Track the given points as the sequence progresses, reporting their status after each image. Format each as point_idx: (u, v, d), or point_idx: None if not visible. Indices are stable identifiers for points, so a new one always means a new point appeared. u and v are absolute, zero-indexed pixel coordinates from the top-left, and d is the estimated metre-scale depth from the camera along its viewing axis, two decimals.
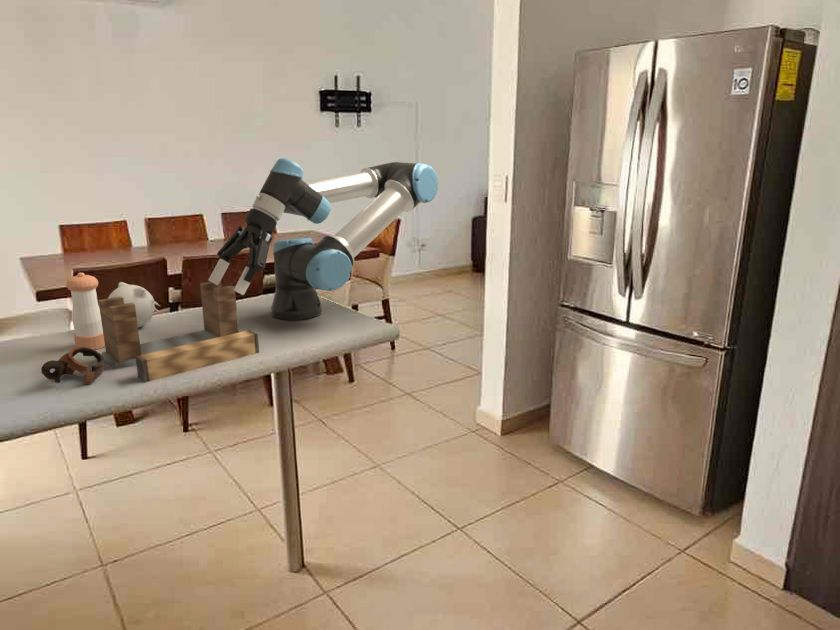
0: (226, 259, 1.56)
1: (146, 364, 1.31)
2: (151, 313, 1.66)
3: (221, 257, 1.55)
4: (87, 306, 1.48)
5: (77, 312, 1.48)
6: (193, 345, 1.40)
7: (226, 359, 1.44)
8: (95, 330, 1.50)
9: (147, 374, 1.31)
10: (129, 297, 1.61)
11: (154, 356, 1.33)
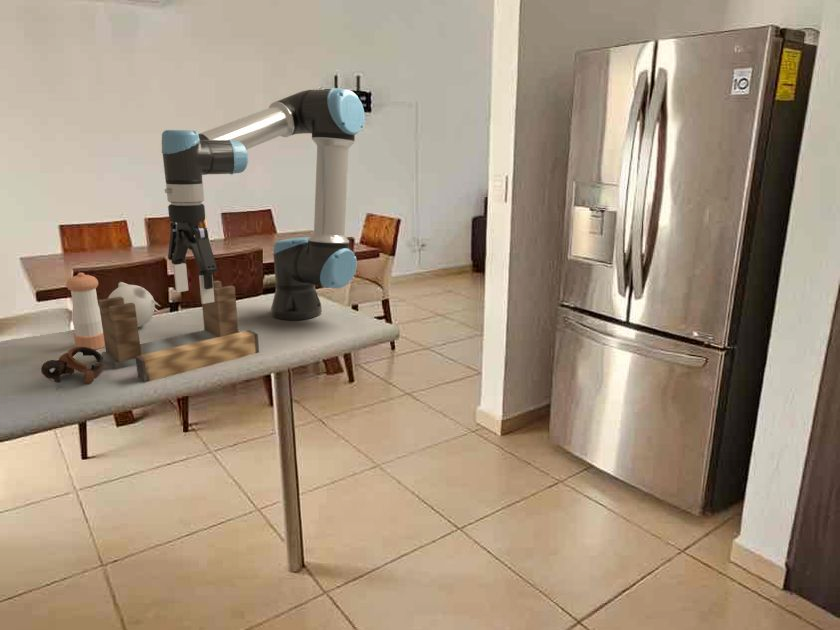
0: (180, 261, 1.40)
1: (146, 364, 1.31)
2: (151, 313, 1.66)
3: (174, 262, 1.39)
4: (87, 306, 1.48)
5: (77, 312, 1.48)
6: (193, 345, 1.40)
7: (226, 359, 1.44)
8: (95, 330, 1.50)
9: (147, 374, 1.31)
10: (129, 297, 1.61)
11: (154, 356, 1.33)
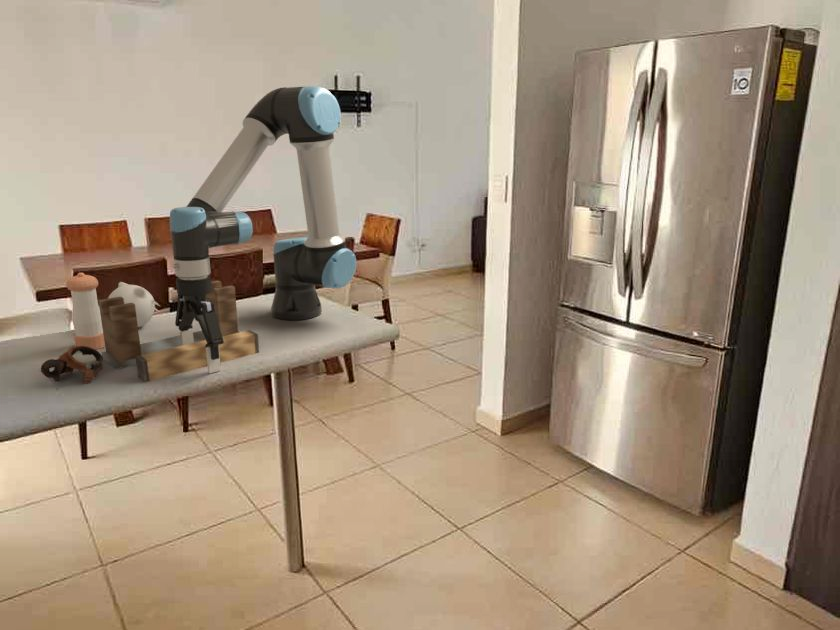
0: (187, 327, 1.45)
1: (146, 364, 1.31)
2: (151, 313, 1.66)
3: (181, 329, 1.44)
4: (87, 306, 1.48)
5: (77, 312, 1.48)
6: (193, 345, 1.40)
7: (226, 359, 1.44)
8: (95, 330, 1.50)
9: (147, 374, 1.31)
10: (129, 297, 1.61)
11: (154, 356, 1.33)
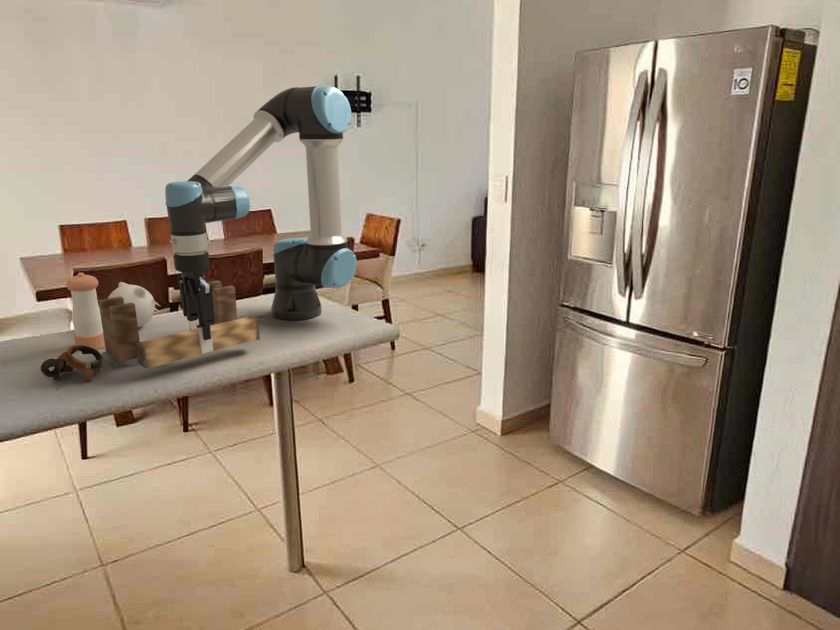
0: (195, 316, 1.41)
1: (146, 350, 1.30)
2: (151, 313, 1.66)
3: (189, 318, 1.40)
4: (87, 306, 1.48)
5: (77, 312, 1.48)
6: (193, 332, 1.39)
7: (226, 346, 1.43)
8: (95, 330, 1.50)
9: (147, 360, 1.31)
10: (129, 297, 1.61)
11: (154, 342, 1.32)
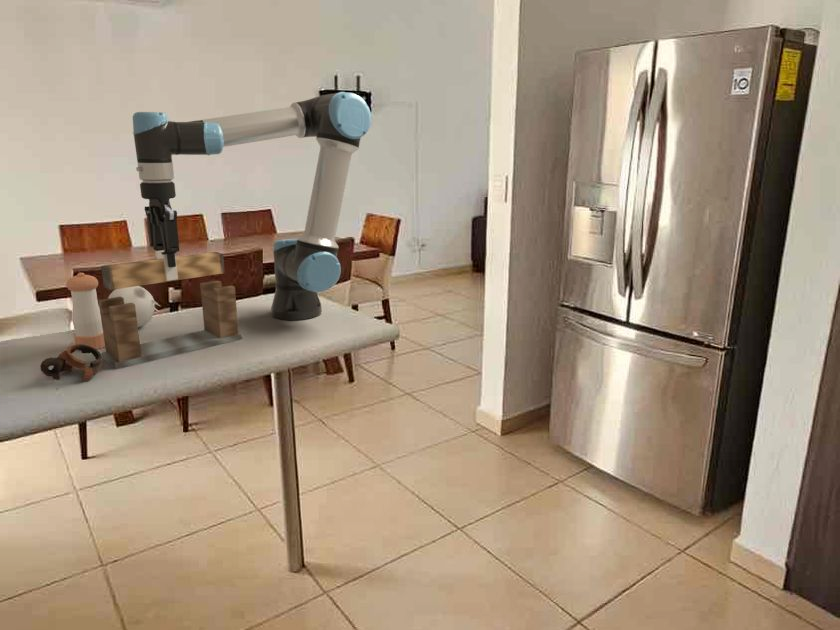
0: (161, 246, 1.47)
1: (111, 272, 1.35)
2: (151, 313, 1.66)
3: (155, 248, 1.46)
4: (87, 306, 1.48)
5: (77, 312, 1.48)
6: (159, 260, 1.45)
7: (191, 276, 1.49)
8: (95, 330, 1.50)
9: (111, 282, 1.36)
10: (129, 297, 1.61)
11: (119, 265, 1.38)
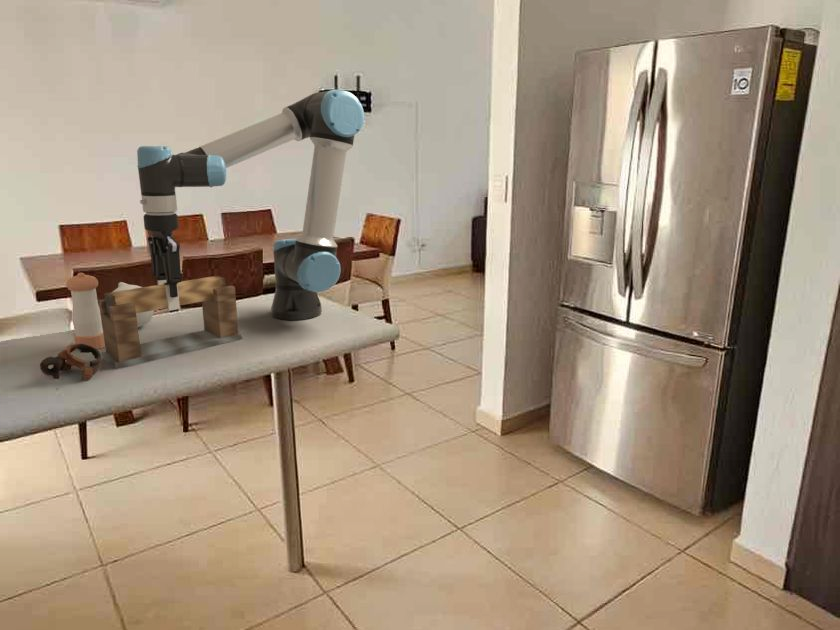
0: (164, 276, 1.49)
1: (114, 300, 1.37)
2: (151, 313, 1.66)
3: (158, 278, 1.48)
4: (87, 306, 1.48)
5: (77, 312, 1.48)
6: (161, 286, 1.46)
7: (193, 301, 1.51)
8: (95, 330, 1.50)
9: None
10: None
11: (123, 293, 1.40)
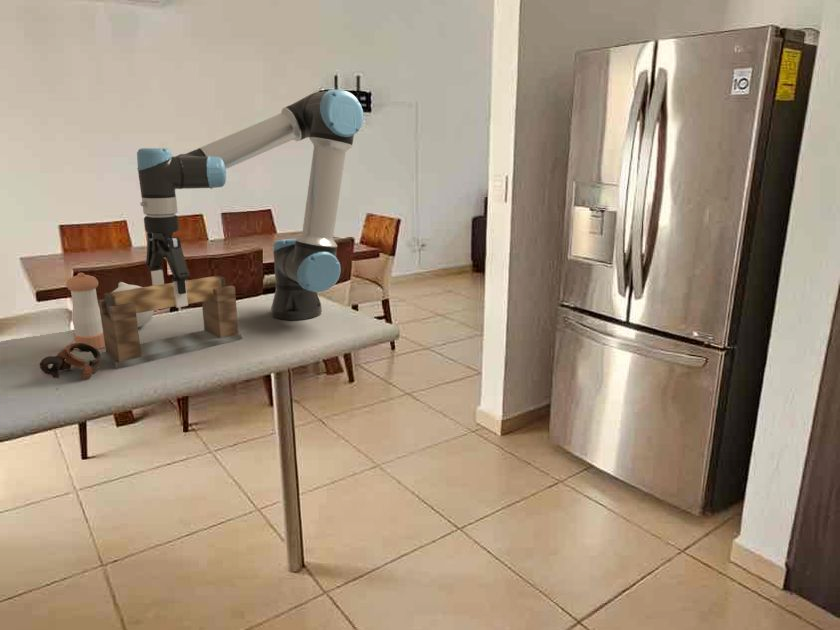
0: (157, 268, 1.52)
1: (114, 300, 1.37)
2: (151, 313, 1.66)
3: (151, 269, 1.51)
4: (87, 306, 1.48)
5: (77, 312, 1.48)
6: (161, 286, 1.46)
7: (193, 301, 1.51)
8: (95, 330, 1.50)
9: None
10: None
11: (123, 293, 1.40)
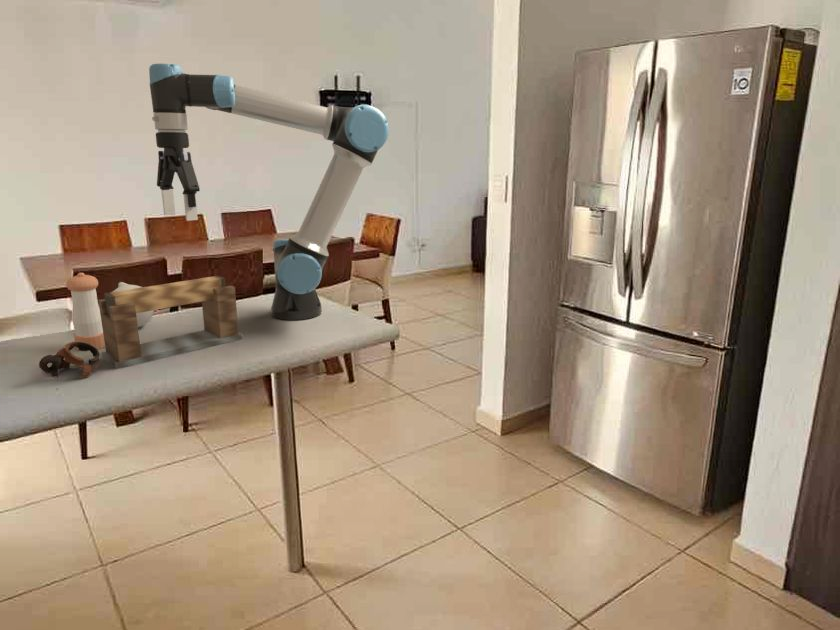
0: (167, 187, 1.57)
1: (114, 300, 1.37)
2: (151, 313, 1.66)
3: (162, 188, 1.56)
4: (87, 306, 1.48)
5: (77, 312, 1.48)
6: (161, 286, 1.46)
7: (193, 301, 1.51)
8: (95, 330, 1.50)
9: None
10: None
11: (123, 293, 1.40)
